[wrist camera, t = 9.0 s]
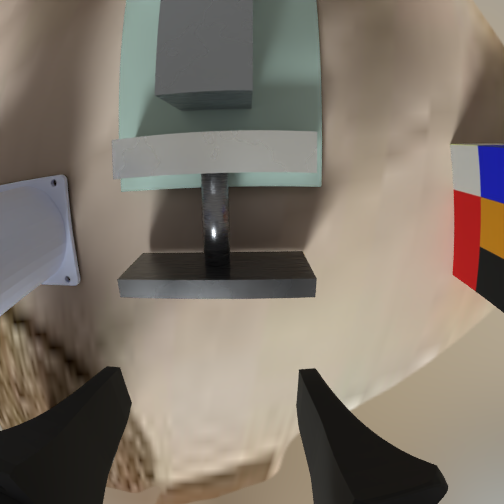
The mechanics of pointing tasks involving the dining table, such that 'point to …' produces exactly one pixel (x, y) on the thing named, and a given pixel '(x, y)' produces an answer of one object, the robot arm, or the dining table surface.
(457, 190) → the puzzle toy
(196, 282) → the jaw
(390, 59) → the dining table surface
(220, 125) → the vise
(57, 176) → the robot arm
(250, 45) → the steel block
